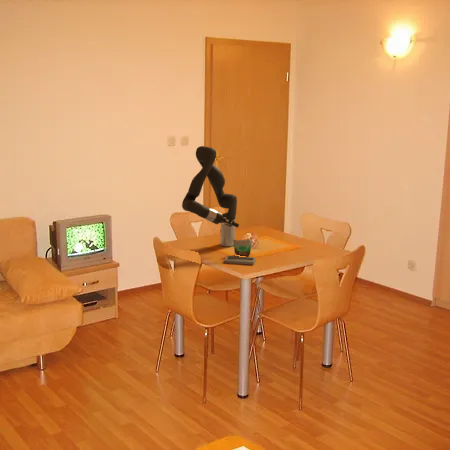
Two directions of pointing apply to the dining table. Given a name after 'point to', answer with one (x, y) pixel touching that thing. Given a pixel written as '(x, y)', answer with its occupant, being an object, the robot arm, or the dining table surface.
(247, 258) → the tray
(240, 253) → the food container
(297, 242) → the dining table surface
